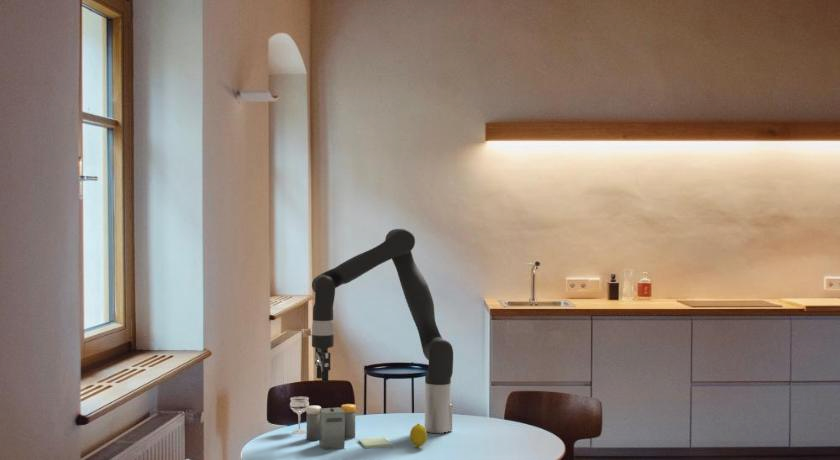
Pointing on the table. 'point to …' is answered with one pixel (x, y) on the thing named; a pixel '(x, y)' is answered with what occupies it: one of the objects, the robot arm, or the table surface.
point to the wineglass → (299, 409)
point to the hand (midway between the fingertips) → (322, 380)
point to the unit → (332, 428)
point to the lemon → (418, 435)
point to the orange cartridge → (349, 420)
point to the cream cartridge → (313, 423)
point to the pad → (374, 442)
